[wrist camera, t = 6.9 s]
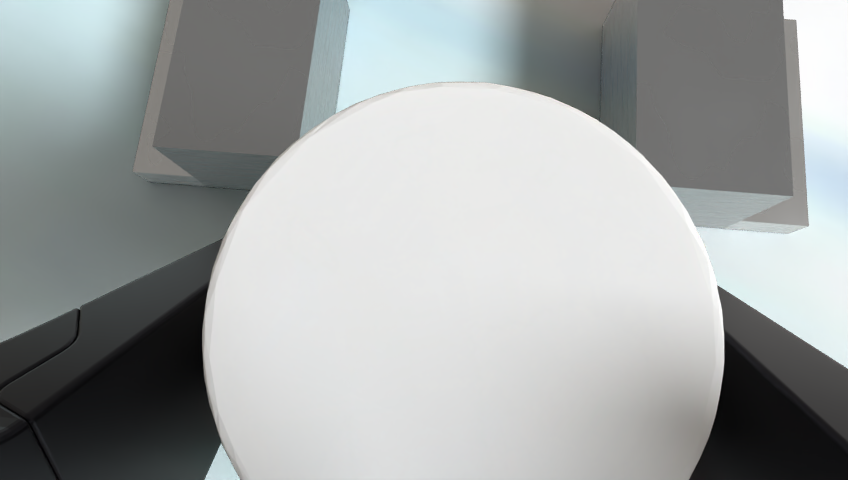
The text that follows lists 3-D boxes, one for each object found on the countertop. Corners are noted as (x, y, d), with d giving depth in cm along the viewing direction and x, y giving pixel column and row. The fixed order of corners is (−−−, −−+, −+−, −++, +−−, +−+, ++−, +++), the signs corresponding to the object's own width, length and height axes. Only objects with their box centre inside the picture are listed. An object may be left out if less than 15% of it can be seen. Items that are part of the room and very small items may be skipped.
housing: (787, 233, 17) (874, 202, 14) (148, 181, 18) (81, 140, 15) (777, 37, 19) (852, -35, 15) (187, -1, 20) (133, -76, 16)
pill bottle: (599, 331, 15) (965, 256, 5) (471, 516, 14) (561, 958, 4) (427, 205, 16) (405, -93, 6) (296, 371, 15) (-33, 386, 5)
